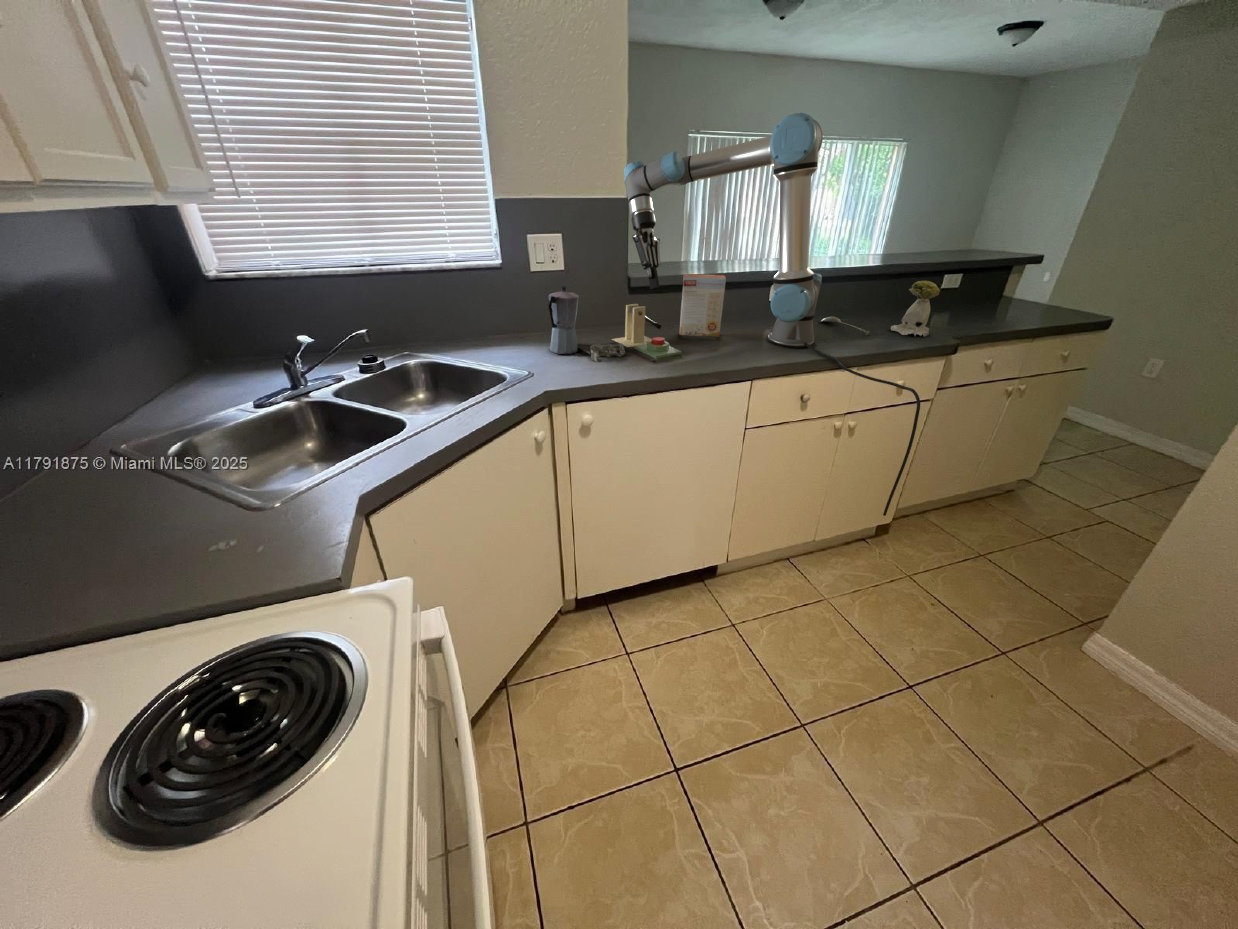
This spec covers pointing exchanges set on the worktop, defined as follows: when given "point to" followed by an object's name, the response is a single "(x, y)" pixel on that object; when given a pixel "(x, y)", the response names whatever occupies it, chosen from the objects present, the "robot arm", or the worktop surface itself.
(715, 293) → the cracker box
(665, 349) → the button box
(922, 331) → the grey and green figure
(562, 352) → the moka pot
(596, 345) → the mottled toad figurine
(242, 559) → the worktop surface
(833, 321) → the soupspoon
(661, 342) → the button
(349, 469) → the worktop surface
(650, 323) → the toaster lever
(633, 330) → the bracket
